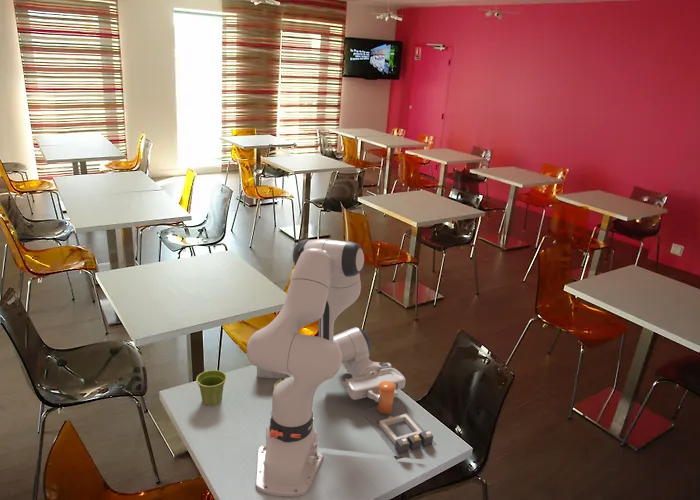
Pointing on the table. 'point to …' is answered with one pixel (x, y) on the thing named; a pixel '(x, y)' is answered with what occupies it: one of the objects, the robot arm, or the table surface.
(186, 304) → the table surface
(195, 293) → the table surface
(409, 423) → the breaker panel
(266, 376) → the light bulb box
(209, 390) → the plant pot
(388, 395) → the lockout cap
